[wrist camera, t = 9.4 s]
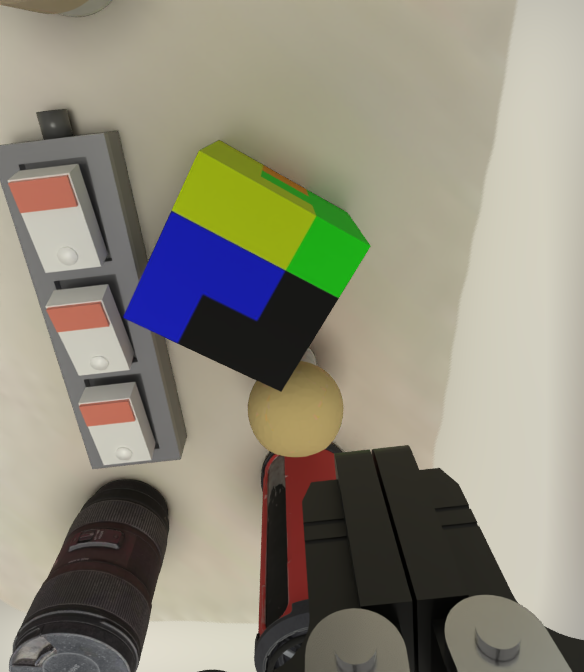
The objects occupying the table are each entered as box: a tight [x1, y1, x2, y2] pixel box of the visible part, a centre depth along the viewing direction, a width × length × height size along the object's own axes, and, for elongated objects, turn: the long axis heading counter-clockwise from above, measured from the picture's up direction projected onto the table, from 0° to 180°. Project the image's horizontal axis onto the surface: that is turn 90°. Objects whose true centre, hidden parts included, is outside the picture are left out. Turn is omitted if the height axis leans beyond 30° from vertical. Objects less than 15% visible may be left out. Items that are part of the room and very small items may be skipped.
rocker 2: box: [45, 284, 134, 376], centre depth 36 cm, size 6×4×2 cm, turn 7°
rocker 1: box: [7, 164, 108, 273], centre depth 33 cm, size 6×4×2 cm, turn 7°
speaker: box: [254, 444, 342, 672], centre depth 38 cm, size 8×8×18 cm
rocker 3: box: [78, 382, 156, 465], centre depth 39 cm, size 6×4×2 cm, turn 7°
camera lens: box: [9, 480, 169, 672], centre depth 40 cm, size 8×8×15 cm
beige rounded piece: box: [248, 348, 343, 457], centre depth 37 cm, size 6×6×10 cm
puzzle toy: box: [123, 140, 370, 392], centre depth 33 cm, size 10×10×10 cm
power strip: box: [0, 109, 187, 469], centre depth 38 cm, size 26×7×3 cm, turn 6°
